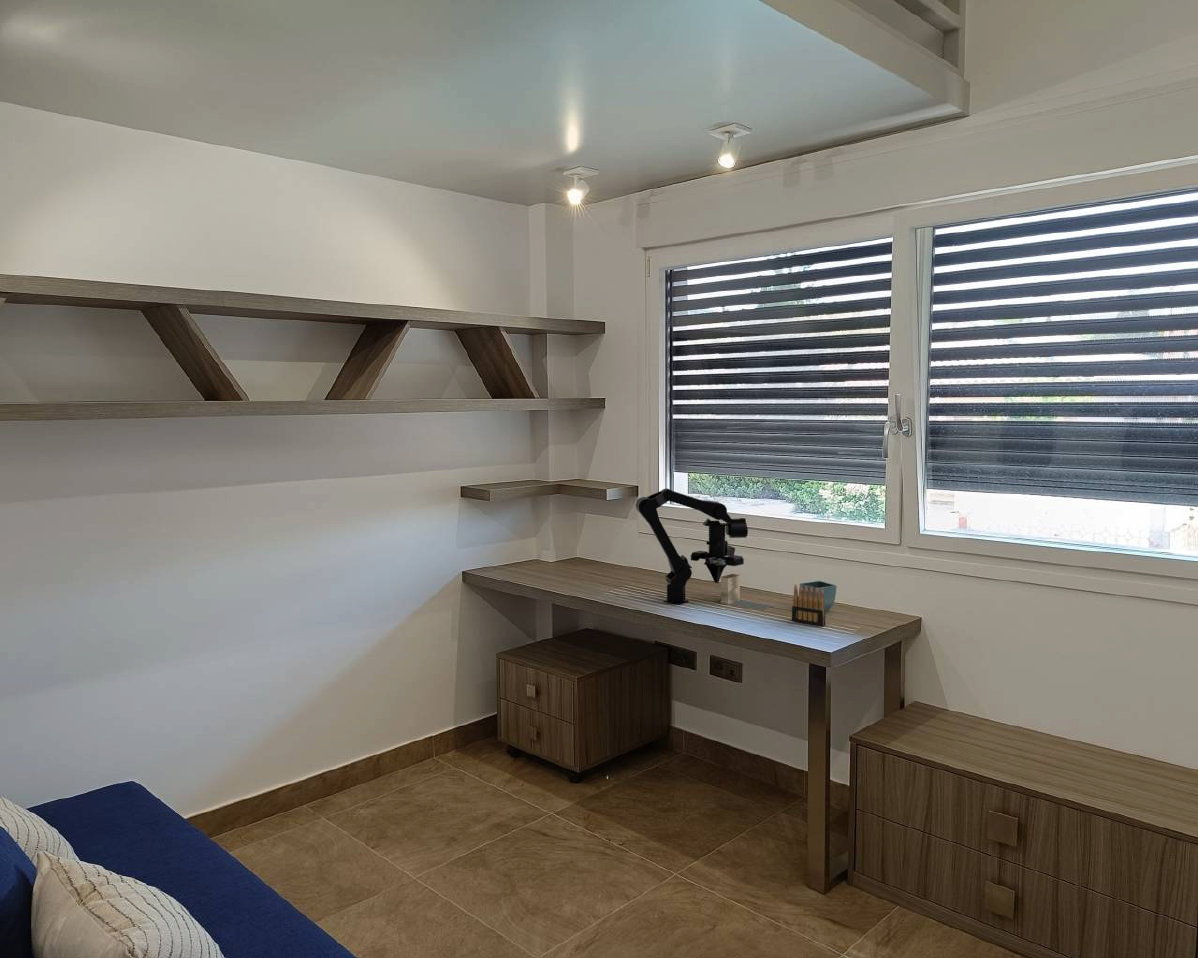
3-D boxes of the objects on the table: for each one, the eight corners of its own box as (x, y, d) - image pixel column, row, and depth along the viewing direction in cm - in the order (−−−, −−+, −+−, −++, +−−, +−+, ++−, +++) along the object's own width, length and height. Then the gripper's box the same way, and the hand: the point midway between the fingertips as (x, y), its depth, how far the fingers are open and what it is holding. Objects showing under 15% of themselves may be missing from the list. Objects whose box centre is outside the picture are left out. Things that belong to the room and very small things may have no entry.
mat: (761, 611, 303) (761, 610, 303) (716, 603, 315) (716, 602, 315) (774, 606, 309) (774, 605, 309) (729, 599, 321) (729, 598, 321)
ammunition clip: (791, 621, 288) (791, 584, 287) (794, 620, 290) (794, 583, 289) (822, 626, 282) (823, 588, 281) (825, 625, 283) (826, 587, 282)
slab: (728, 603, 312) (728, 577, 311) (720, 602, 314) (720, 576, 313) (739, 600, 317) (739, 574, 317) (732, 599, 319) (732, 573, 319)
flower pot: (816, 615, 296) (816, 588, 296) (798, 609, 304) (798, 583, 303) (837, 612, 300) (837, 585, 300) (819, 606, 308) (819, 580, 307)
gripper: (752, 538, 317) (752, 582, 319) (708, 533, 330) (708, 576, 331) (734, 542, 309) (734, 587, 310) (689, 536, 321) (689, 580, 323)
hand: (716, 582), depth 319 cm, fingers closed
